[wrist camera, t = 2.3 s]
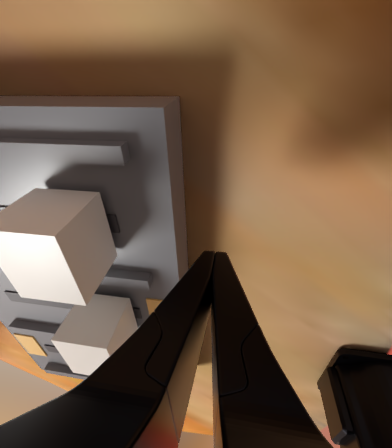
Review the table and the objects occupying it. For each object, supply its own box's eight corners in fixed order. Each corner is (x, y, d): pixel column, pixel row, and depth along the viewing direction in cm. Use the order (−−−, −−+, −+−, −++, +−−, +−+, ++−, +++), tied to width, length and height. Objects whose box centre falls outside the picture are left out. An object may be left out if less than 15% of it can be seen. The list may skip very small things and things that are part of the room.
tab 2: (129, 298, 14) (106, 348, 12) (139, 332, 16) (121, 381, 14) (82, 292, 15) (50, 340, 12) (97, 326, 17) (73, 372, 14)
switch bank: (179, 96, 10) (158, 111, 8) (193, 366, 24) (188, 403, 22) (-113, 95, 12) (-204, 107, 10) (57, 344, 26) (37, 375, 24)
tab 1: (99, 191, 10) (54, 236, 8) (117, 255, 12) (86, 305, 10) (35, 187, 11) (-27, 228, 8) (63, 250, 13) (20, 297, 10)
